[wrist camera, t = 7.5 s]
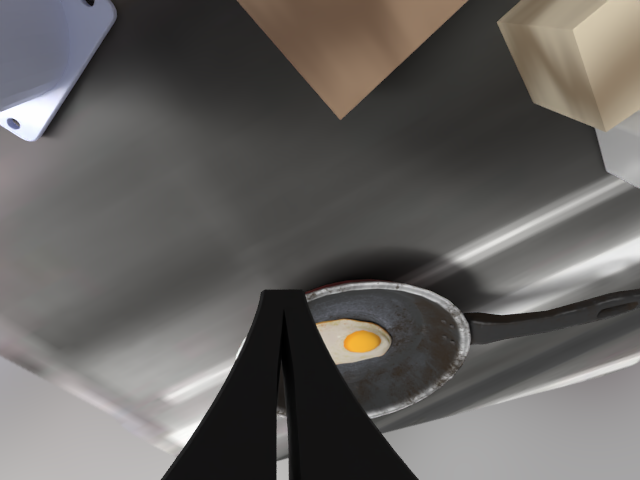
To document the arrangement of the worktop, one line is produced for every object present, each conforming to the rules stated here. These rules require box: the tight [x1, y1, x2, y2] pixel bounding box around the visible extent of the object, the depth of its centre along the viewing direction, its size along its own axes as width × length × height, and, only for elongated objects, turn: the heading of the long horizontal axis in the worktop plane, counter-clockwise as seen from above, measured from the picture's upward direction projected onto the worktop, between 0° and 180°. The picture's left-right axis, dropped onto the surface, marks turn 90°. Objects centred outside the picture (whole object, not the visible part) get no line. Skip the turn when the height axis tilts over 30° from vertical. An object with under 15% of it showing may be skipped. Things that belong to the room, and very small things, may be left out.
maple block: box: [497, 0, 640, 132], centre depth 14 cm, size 5×5×5 cm
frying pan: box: [235, 279, 640, 418], centre depth 26 cm, size 19×32×4 cm, turn 106°
